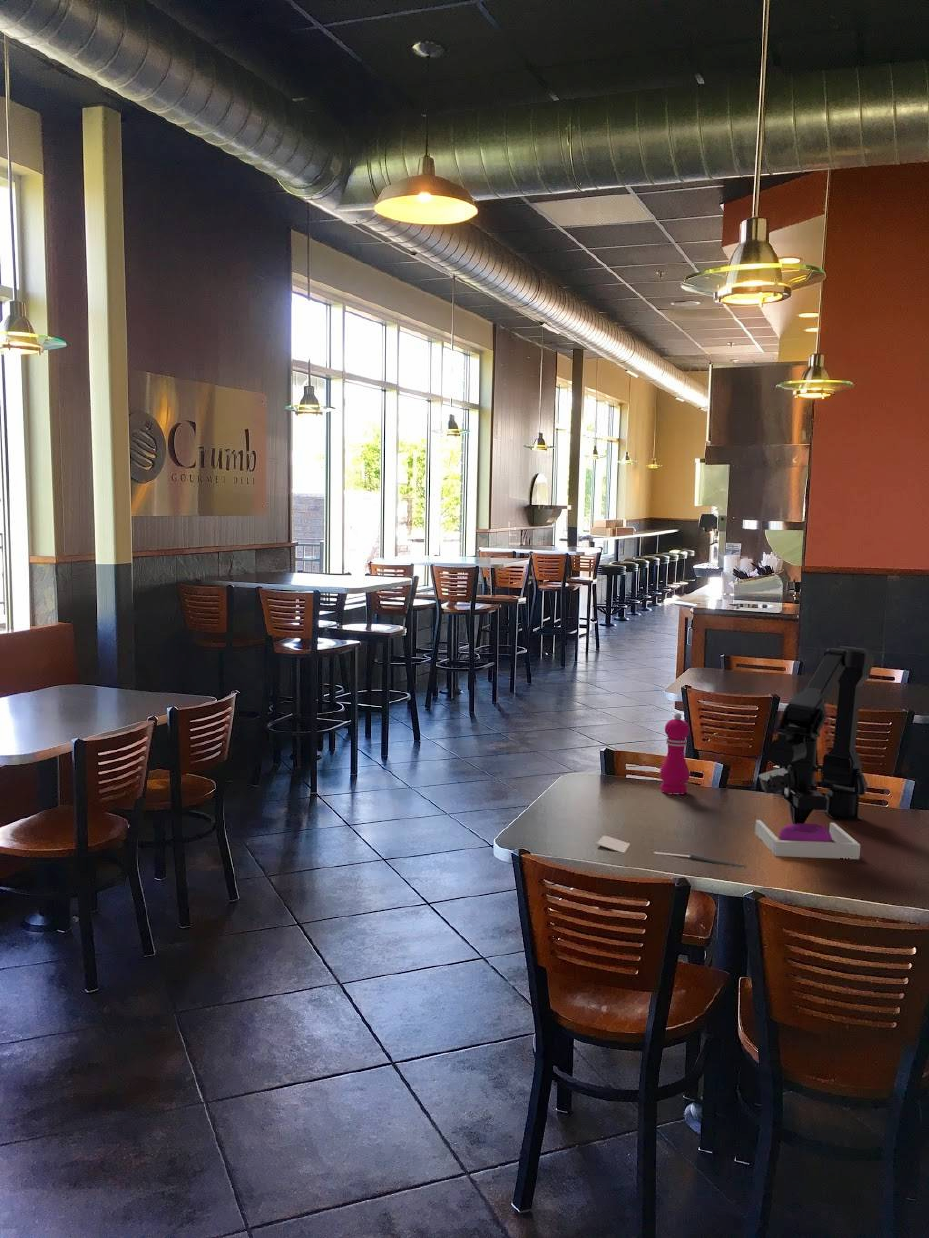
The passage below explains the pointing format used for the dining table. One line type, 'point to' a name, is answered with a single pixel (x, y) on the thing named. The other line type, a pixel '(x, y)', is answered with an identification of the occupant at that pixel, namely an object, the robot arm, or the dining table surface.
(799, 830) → the donut
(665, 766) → the pepper mill
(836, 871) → the dining table surface
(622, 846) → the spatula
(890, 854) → the dining table surface
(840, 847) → the tray
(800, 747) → the robot arm
